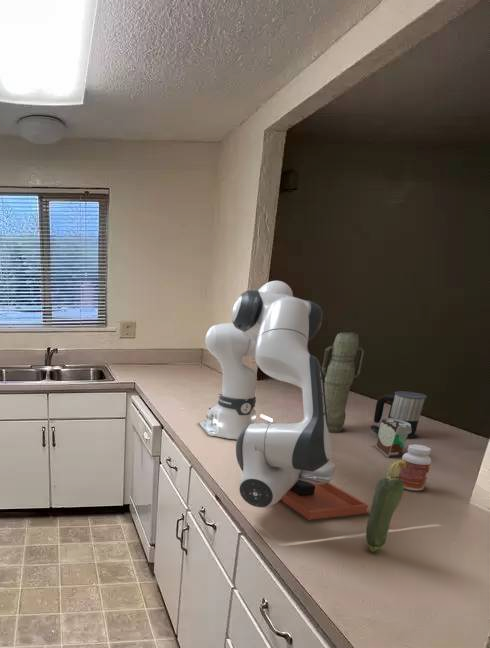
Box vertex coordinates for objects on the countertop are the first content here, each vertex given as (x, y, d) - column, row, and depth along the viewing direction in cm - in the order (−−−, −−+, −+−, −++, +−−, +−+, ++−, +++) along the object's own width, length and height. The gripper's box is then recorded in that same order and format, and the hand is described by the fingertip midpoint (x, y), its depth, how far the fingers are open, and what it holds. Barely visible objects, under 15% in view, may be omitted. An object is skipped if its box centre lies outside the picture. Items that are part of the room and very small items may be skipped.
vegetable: (356, 543, 90) (378, 453, 83) (376, 542, 90) (399, 452, 83) (371, 555, 86) (395, 462, 79) (392, 554, 86) (417, 461, 79)
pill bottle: (427, 492, 112) (439, 452, 108) (399, 489, 113) (410, 450, 110) (418, 483, 117) (429, 444, 113) (392, 480, 119) (401, 442, 115)
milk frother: (415, 433, 157) (425, 393, 152) (418, 445, 144) (430, 402, 139) (369, 426, 164) (377, 388, 159) (368, 438, 152) (377, 397, 147)
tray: (255, 482, 118) (256, 474, 117) (305, 477, 121) (306, 469, 120) (308, 521, 98) (310, 511, 97) (366, 514, 101) (368, 505, 100)
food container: (412, 460, 133) (421, 429, 129) (390, 458, 134) (398, 428, 130) (394, 446, 144) (401, 417, 140) (373, 445, 145) (380, 416, 142)
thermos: (309, 423, 168) (326, 331, 156) (344, 426, 164) (364, 332, 152) (312, 430, 160) (331, 333, 148) (349, 433, 157) (370, 334, 145)
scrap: (289, 489, 113) (291, 480, 112) (303, 488, 113) (304, 479, 113) (299, 496, 109) (301, 487, 108) (313, 494, 110) (315, 485, 109)
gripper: (330, 470, 96) (343, 453, 106) (239, 449, 108) (259, 436, 118) (324, 495, 98) (338, 476, 108) (236, 472, 110) (256, 457, 120)
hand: (296, 455), depth 113 cm, fingers closed on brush, 3 cm apart
